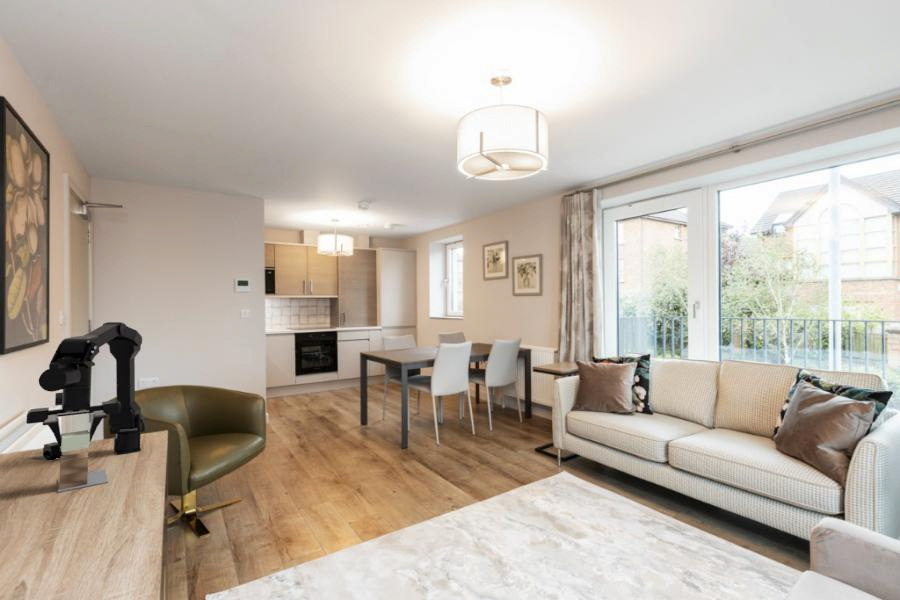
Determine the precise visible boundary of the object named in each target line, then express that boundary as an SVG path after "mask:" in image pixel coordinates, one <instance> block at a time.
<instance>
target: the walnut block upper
mask: <svg viewBox="0 0 900 600" xmlns="http://www.w3.org/2000/svg"><path fill="white" fill-rule="evenodd" d="M83 471H88V472H89V453H88V451H86V452H79V453H72V454H65V456H60V459H59V477H60V476H61V475H66V474H72V473H77V472H83Z"/></svg>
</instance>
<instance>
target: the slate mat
mask: <svg viewBox="0 0 900 600" xmlns="http://www.w3.org/2000/svg"><path fill="white" fill-rule="evenodd" d="M59 480H60V477H58V479H57V493H59V494H60V493H64V492H67V491H74V490H78V489H84V488H89V487H94V486H99V485H103V484H108V483H109V480H108V476H107V473H106V469H100V470H95V471H90V472H89V471H88V478H87V484H86V485H81V486H76V487H71V488H66V489H61V490H59Z"/></svg>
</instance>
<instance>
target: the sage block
mask: <svg viewBox="0 0 900 600" xmlns="http://www.w3.org/2000/svg"><path fill="white" fill-rule="evenodd" d="M89 431H90V430H88V429H85V430H79V431H72V432H71V431H70V432H65V433H60V434H61V446H60V448H61V452H62V453H64V452H65V453H66V452H71V451H78V450H84V449H89V448H90V443H91V442H90V433H89Z"/></svg>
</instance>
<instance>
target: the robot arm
mask: <svg viewBox="0 0 900 600" xmlns="http://www.w3.org/2000/svg"><path fill="white" fill-rule="evenodd" d="M105 344H107V345H108V348H109V353H110V354H111V356H113V358H114V359H115V363H116V364H115V367H116V368H115V369H116V371H115V373H116V378H115V379H116V380H115V381H116V383H115V384H116V399H115V400H108V401H101V404H99V405H91V400H92V399H91V398H92V397H91V395H92V393H91V392H92V371H93V370H92V369H93V368H92V367H94V366H95V365H96V363H95V361H93V360H94V358H95V357H97V355H98V354H99V353H100V347H102V346H105ZM142 344H143V336H142V335H141V333H139V332H138V330H136V329H134V328H131V327H129V326H127V324H125V323H124V322H122V321H121V322H120V321H117V322H116V321H109V322H108V321H107V322H105V323H103V324H102V325H101V326H98V327H97V328H95V329H93V330H92V331H90V332H88V333H86V334H84V335H79V336H71V337H66V338H64V339H63V340H61V342H60V343H59V344H58V345H57V346H58V347H57V349H56V351H55V352H54V354H53V356H52V358H51V360H50V362H49V365H48V368H47V369H46V370H44V371H43V372H42V373H41V374H40V376H39V378H38V384H39V387H41V389H43V390H44V391H46V392H55V397H54V398H55V400H54V401H55V402H54V406H55V407H57V406H61V408H60V409H52V410H51V409H50V407H49V406H48V407H39V408H37V407H36V408H30V409H29V410H28V411H27V413H26V422H25V423H26V424H28V425H29V424H30V425H31V424H39V423H42V426H48V427H49V429H50V430H51V432H52V434H53V435H54V438H55V440H56V442H57V443H58V445H59V446H61V434H62V433H61V427H60V420H59V418H60V417H68V416H76V415H83V414H92V415H91V422H90V427H89V430H88V431H89V433H90V443H91V442H92V439H93V437H94V436H95V433H96V430H97V428H98V427H99V426H100V424H101V422H102V420H103V419H106V418H108V415H109V419H108V426H109V433H110V435H115V437H114V438H113V452H115V455H123V454H128V453H134V452H139V451H142V448H141V434H142V432H146V430H147V426H148V425H147V423H148V422H147V421H146V419H145V417H144V416H143V414H142V408H141V406H140V405H139V404H138V402H137V401H136V389H135V388H136V385H135V384H136V383H135V382H136V380H135V379H136V369H135V368H136V367H135V359H136V357H137V355H138V354H139V352H140V351H141V347H142ZM61 390H62V392H58V391H61Z"/></svg>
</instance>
